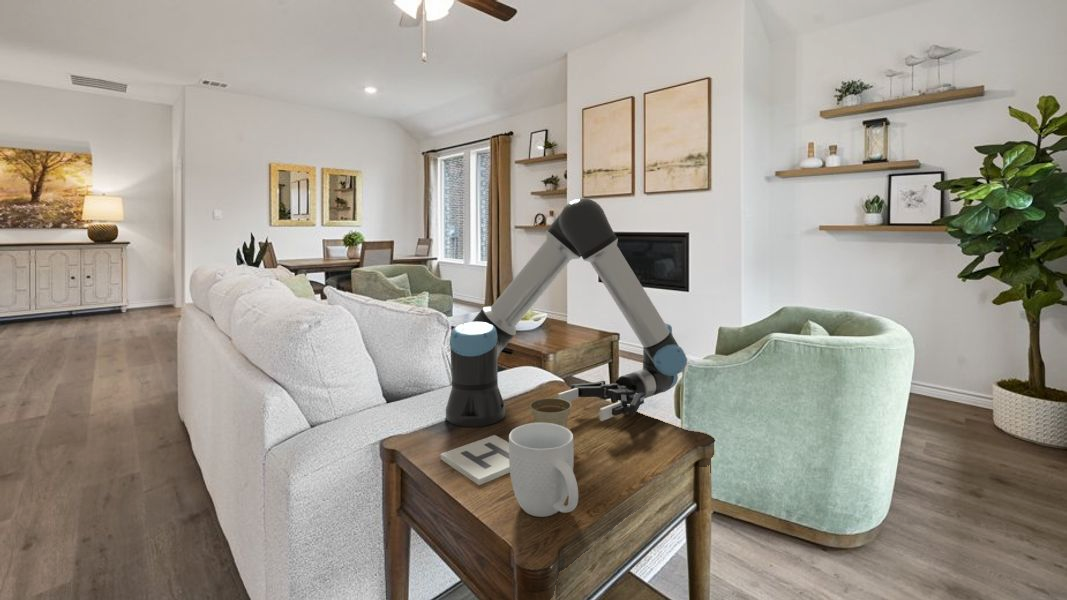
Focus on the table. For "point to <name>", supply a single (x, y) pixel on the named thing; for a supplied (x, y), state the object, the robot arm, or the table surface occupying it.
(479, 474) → the letter board
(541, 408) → the flower pot
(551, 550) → the table surface
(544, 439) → the mug
